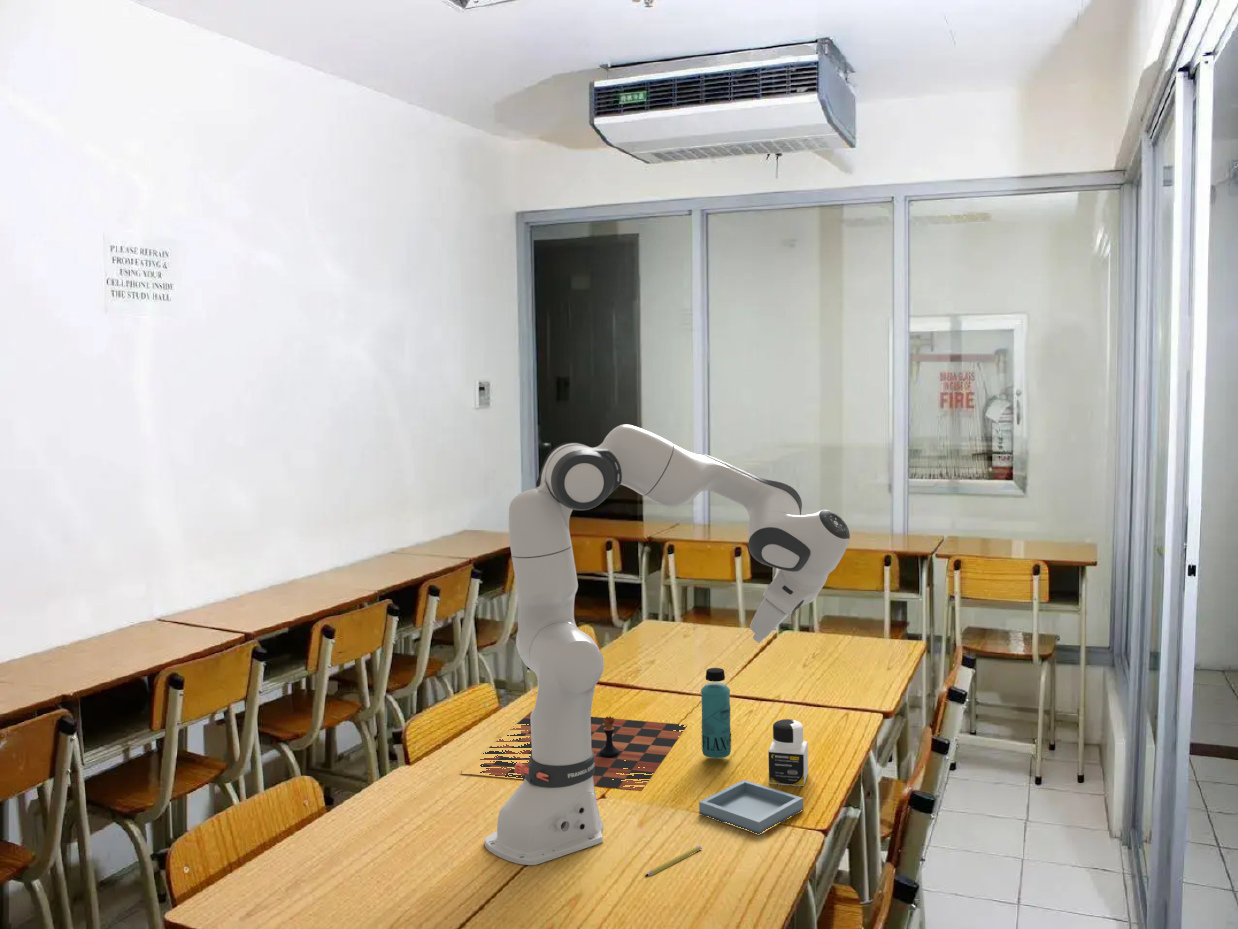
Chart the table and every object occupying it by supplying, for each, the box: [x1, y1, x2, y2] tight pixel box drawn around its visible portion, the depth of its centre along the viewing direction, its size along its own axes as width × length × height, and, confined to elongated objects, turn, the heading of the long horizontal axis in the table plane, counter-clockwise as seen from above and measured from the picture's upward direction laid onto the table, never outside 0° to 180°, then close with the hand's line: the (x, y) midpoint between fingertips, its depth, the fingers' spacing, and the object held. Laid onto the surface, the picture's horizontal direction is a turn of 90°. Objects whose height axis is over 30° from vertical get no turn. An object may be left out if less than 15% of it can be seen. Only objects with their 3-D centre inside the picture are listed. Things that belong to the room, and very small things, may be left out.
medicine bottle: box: [767, 718, 809, 787], centre depth 214 cm, size 7×7×12 cm
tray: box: [698, 779, 804, 834], centre depth 199 cm, size 14×14×2 cm
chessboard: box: [480, 710, 688, 792], centre depth 236 cm, size 40×40×11 cm
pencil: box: [644, 845, 703, 877], centre depth 180 cm, size 1×14×1 cm, turn 134°
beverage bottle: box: [700, 667, 732, 759], centre depth 226 cm, size 6×7×20 cm
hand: (768, 628), depth 210 cm, fingers open, 8 cm apart
